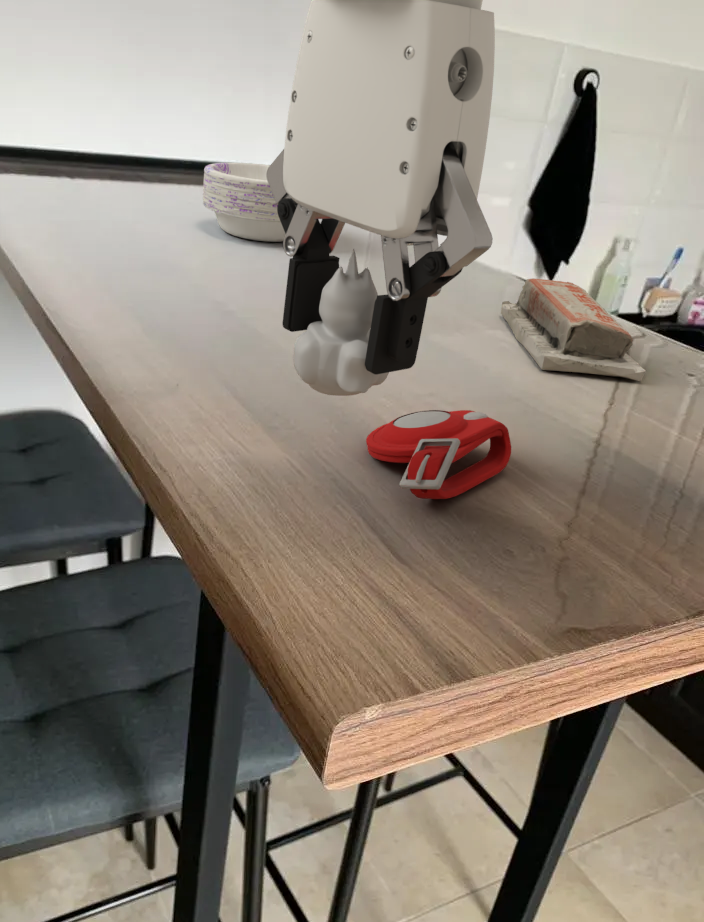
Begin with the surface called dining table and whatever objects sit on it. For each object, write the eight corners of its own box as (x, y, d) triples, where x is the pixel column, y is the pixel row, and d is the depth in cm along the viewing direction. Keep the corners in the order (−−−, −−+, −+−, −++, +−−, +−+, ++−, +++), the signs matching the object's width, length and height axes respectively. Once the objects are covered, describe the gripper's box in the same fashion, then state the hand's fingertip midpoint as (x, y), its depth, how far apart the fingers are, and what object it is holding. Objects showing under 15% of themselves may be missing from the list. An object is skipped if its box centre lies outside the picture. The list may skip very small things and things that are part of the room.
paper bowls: (192, 216, 118) (195, 155, 114) (298, 225, 122) (305, 165, 119) (211, 244, 105) (216, 176, 101) (329, 252, 110) (338, 187, 106)
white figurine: (364, 374, 52) (386, 240, 48) (402, 420, 47) (431, 273, 43) (277, 373, 51) (293, 234, 47) (307, 419, 45) (328, 267, 41)
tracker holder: (341, 418, 60) (469, 386, 63) (351, 477, 62) (476, 444, 64) (408, 459, 49) (561, 418, 52) (419, 530, 51) (567, 487, 53)
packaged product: (507, 270, 92) (596, 281, 93) (496, 314, 95) (583, 325, 96) (553, 320, 77) (659, 333, 78) (539, 372, 79) (643, 384, 80)
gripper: (615, -12, 35) (511, 395, 44) (339, -34, 46) (299, 296, 55) (500, -41, 31) (409, 419, 40) (224, -58, 42) (201, 306, 50)
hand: (346, 344), depth 47 cm, fingers closed on white figurine, 6 cm apart
